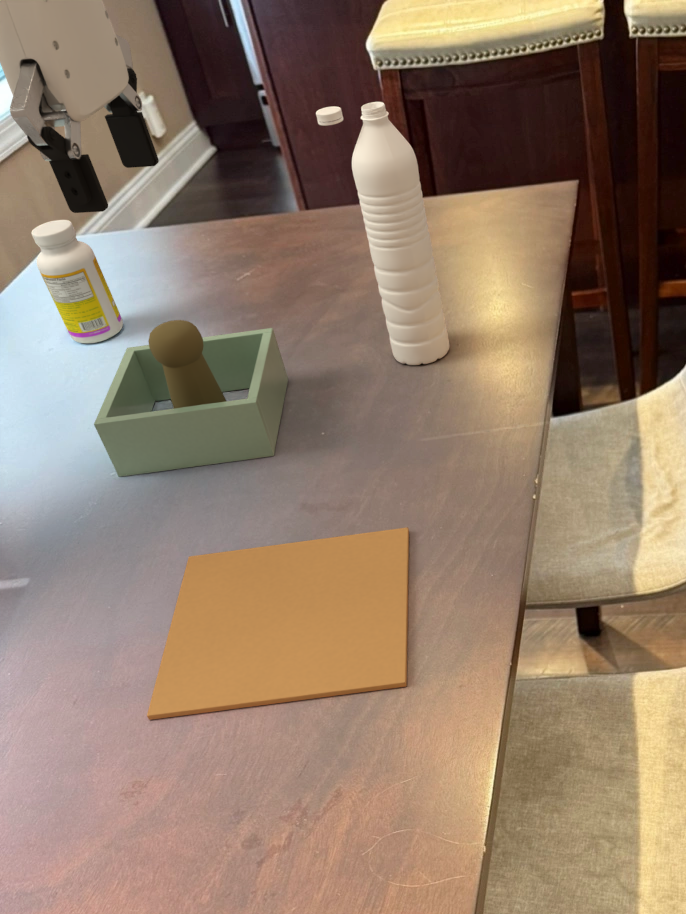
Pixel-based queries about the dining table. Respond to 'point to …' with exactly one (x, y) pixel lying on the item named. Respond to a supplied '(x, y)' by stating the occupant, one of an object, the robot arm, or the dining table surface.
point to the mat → (287, 624)
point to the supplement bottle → (76, 283)
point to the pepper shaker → (184, 364)
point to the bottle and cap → (397, 235)
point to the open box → (195, 408)
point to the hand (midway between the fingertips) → (117, 187)
